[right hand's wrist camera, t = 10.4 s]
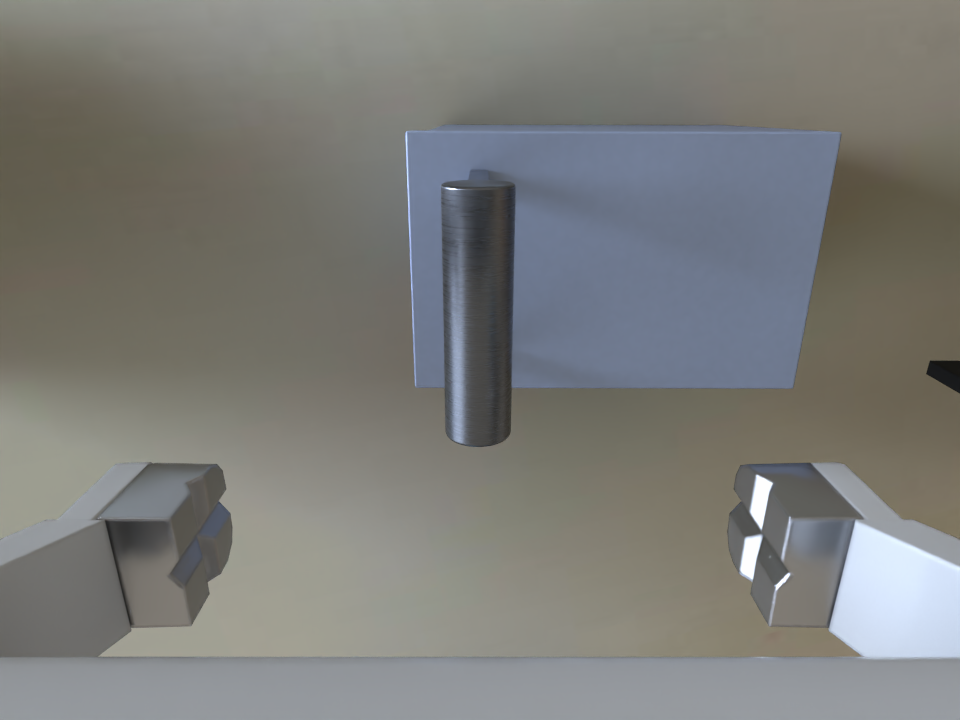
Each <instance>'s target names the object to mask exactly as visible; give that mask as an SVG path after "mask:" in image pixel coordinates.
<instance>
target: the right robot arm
mask: <svg viewBox="0 0 960 720" xmlns="http://www.w3.org/2000/svg"><path fill="white" fill-rule="evenodd" d="M225 490H226V484H225V479H224V475H223V470H222V469H221V468H220V467H219V466H218V465H217V464H192V463H151V462H137V463H119V464H115V465H114V466H113V467H112V468H111V469H110V470H109V471H108V472H107V473H106V474H105V475H103V476H102V477H101V478H100V479H99V480H98V481H97V482H96V483H95V484H94V485H93V486H92V487H91V488H90V489H89V490H88V491H87V492H86V493H85V494H83V495H82V496H81V497H80V498H79V499H78V500H77V501H76V502H75V503H74V504H73V505H72V506H71V507H70V508H69V509H68V510H67V511H66V512H65V513H64V514H62V515H61V516H60V517H59V518H58V519H57V520H44V521H42V522H40V523H37V524H35V525H33V526H30V527H28V528H25V529H23V530H21V531H18V532H16V533H14V534H11V535H9V536H6V537H4V538H2V539H0V720H960V539H958V538H956V537H954V536H951V535H949V534H946V533H944V532H942V531H939V530H937V529H935V528H932V527H930V526H927V525H925V524H923V523H920V522H918V521H916V520H903V519H902V518H901V517H900V516H899V515H898V514H897V513H895V512H894V511H893V510H892V509H891V508H890V507H889V506H888V505H887V504H886V503H885V502H884V501H883V500H882V499H881V498H880V497H879V496H878V495H877V494H876V493H875V492H873V491H872V490H871V489H870V488H869V487H868V486H867V485H866V484H865V483H864V482H863V481H862V480H861V479H860V478H859V477H858V476H857V475H856V474H855V473H854V472H853V471H851V470H850V469H849V468H848V467H847V466H846V465H845V464H842V463H838V462H825V463H784V464H747V465H740V467H739V470H738V472H737V474H736V478H735V484H734V490H735V492H736V493H737V495H738V496H739V498H740V500H741V502H740V503H739V504H738V505H737V506H736V507H735V508H734V509H733V510H732V512H731V513H730V515H729V523H728V531H727V533H728V544H729V551H730V554H731V558H732V561H733V563H734V565H735V567H736V569H737V571H738V572H739V574H741V575H742V576H744V577H745V578H747V579H749V580H750V581H752V588H751V596H752V597H753V599H754V601H755V603H756V604H757V606H758V608H759V610H760V611H761V613H762V615H763V617H764V618H765V620H766V622H767V624H768V625H769V626H778V627H815V628H829V630H828V631H830V632H831V633H832V634H834V635H835V636H836V637H838V638H839V639H840V640H842V641H843V642H844V643H846V644H847V645H848V646H849V647H851V648H852V649H853V650H855V651H856V652H857V653H859V654H860V655H861V656H863V657H98V656H99V655H100V654H102V653H103V652H104V651H106V650H107V649H108V648H109V647H111V646H112V645H113V644H115V643H116V642H117V641H119V640H120V639H121V638H123V637H124V636H125V635H127V634H128V633H129V632H130V631H131V628H145V627H180V626H192V624H193V622H194V620H195V619H196V617H197V615H198V613H199V612H200V610H201V608H202V606H203V604H204V603H205V601H206V599H207V597H208V596H209V594H210V593H209V588H208V581H210V580H211V579H213V578H215V577H216V576H218V575H219V574H221V572H222V571H223V569H224V567H225V565H226V563H227V561H228V558H229V554H230V549H231V545H232V521H231V514H230V513H229V512H228V510H227V509H226V508H225V507H224V506H223V505H222V504H221V503H220V502H219V500H220V498H221V496H222V495H223V493H224V492H225Z"/></svg>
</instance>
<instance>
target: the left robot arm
mask: <svg viewBox="0 0 960 720" xmlns="http://www.w3.org/2000/svg"><path fill="white" fill-rule="evenodd" d="M926 374H927V375H929V376H931V377H933V378H934V379H936V380H938V381H939V382H941V383H943V384H945V385H946V386H948V387H950V388H951V389H953V390H955V391H957V392H958V393H960V361H930V362H929V366H928V370H927V373H926Z"/></svg>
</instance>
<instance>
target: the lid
mask: <svg viewBox="0 0 960 720" xmlns="http://www.w3.org/2000/svg"><path fill="white" fill-rule="evenodd" d="M840 140H841V132H830V131H407V132H406V157H407V184H408V211H409V238H410V265H411V292H412V319H413V346H414V373H415V387H417V388H445V427H446V434H447V436H448V437H449V438H450V439H451V440H452V441H454V442H456V443H458V444H461V445H465V446H472V447H484V446H491V445H495V444H498V443H501V442H502V441H504V440H506V439H507V438H508V436H509V435H510V432H511V392H512V388H771V389H792V388H793V387H794V382H795V377H796V371H797V366H798V361H799V356H800V350H801V345H802V340H803V334H804V329H805V324H806V319H807V313H808V308H809V303H810V298H811V292H812V287H813V282H814V277H815V271H816V266H817V261H818V255H819V250H820V245H821V240H822V234H823V229H824V224H825V219H826V213H827V208H828V203H829V198H830V192H831V187H832V182H833V177H834V171H835V166H836V161H837V155H838V150H839V145H840Z"/></svg>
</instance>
